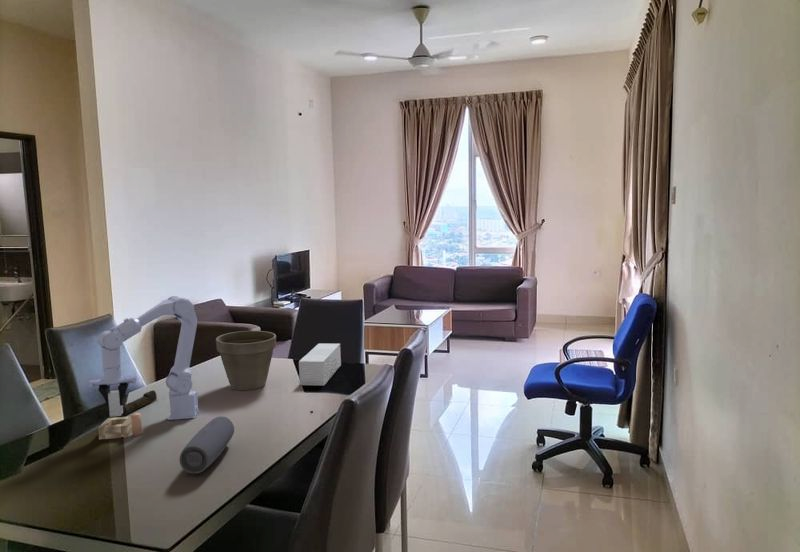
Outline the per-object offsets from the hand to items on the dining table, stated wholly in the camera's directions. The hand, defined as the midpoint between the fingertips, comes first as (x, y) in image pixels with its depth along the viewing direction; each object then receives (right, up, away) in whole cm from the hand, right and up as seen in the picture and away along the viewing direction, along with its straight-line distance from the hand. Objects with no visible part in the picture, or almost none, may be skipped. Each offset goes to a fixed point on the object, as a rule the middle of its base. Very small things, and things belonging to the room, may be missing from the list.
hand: (115, 405), depth 190 cm
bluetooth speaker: (+39, -12, -21) cm, 46 cm away
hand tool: (-5, -7, +26) cm, 28 cm away
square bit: (0, -3, +1) cm, 3 cm away
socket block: (0, -10, +1) cm, 10 cm away
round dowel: (+8, -10, 0) cm, 12 cm away
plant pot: (+32, -3, +51) cm, 60 cm away
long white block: (+61, -1, +65) cm, 89 cm away
